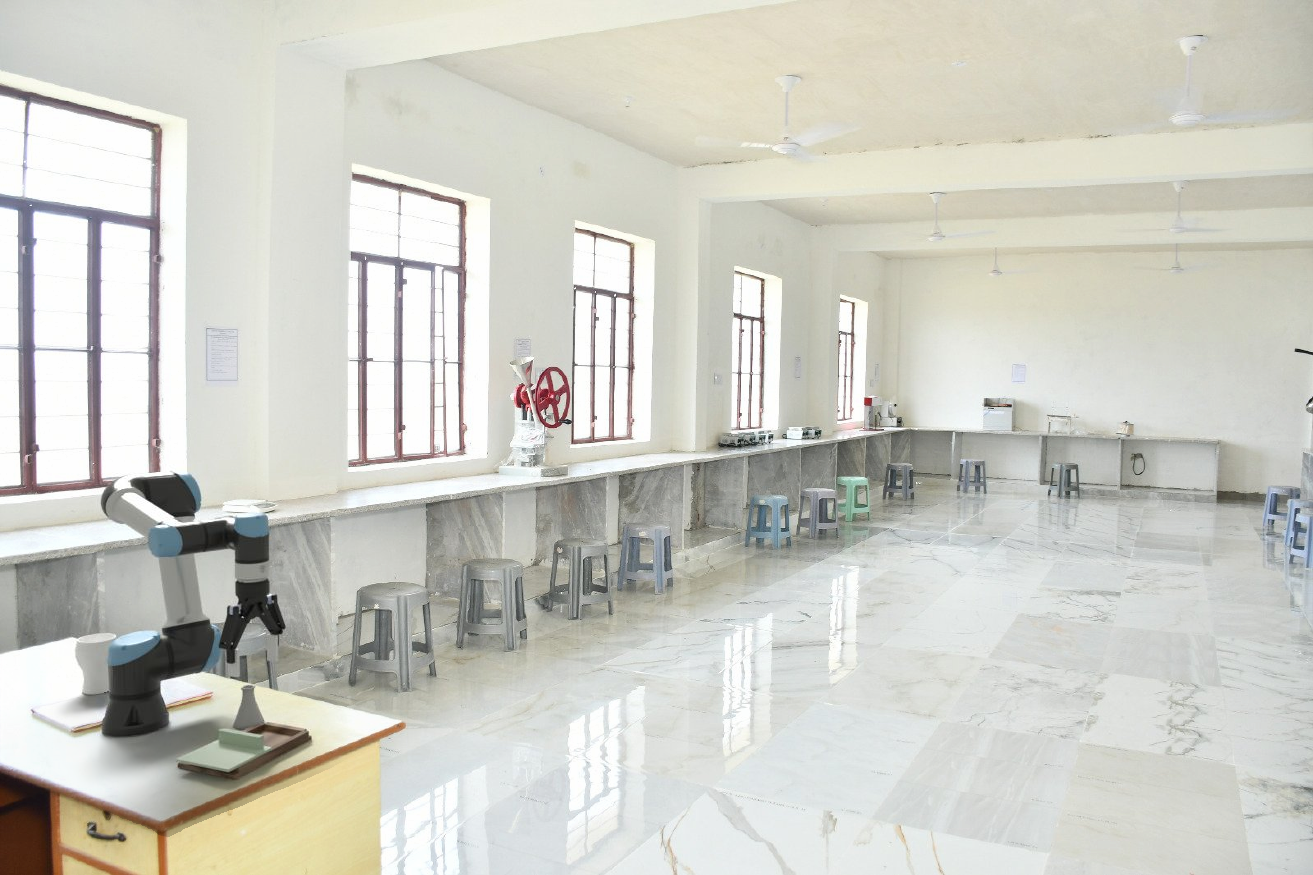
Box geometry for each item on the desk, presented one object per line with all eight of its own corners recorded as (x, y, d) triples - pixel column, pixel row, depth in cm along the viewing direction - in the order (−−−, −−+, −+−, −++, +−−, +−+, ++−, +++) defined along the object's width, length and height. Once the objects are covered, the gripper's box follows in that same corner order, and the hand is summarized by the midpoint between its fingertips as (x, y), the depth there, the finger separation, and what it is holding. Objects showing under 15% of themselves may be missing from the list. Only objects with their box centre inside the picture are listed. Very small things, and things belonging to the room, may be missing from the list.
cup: (127, 688, 277) (126, 636, 276) (89, 699, 268) (87, 645, 267) (107, 681, 282) (105, 630, 281) (68, 691, 274) (67, 639, 272)
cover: (176, 761, 222) (176, 746, 222) (221, 740, 235) (221, 725, 234) (228, 772, 217) (228, 756, 217) (271, 749, 229) (271, 734, 229)
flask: (252, 731, 247) (252, 692, 247) (227, 728, 249) (226, 689, 248) (269, 721, 255) (269, 683, 254) (244, 718, 256) (244, 681, 255)
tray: (177, 767, 225) (177, 756, 225) (256, 729, 248) (256, 720, 248) (236, 779, 219) (235, 768, 219) (311, 739, 242) (311, 729, 242)
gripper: (226, 591, 219) (227, 685, 221) (300, 570, 241) (301, 656, 243) (200, 588, 221) (201, 681, 223) (275, 567, 244) (277, 652, 246)
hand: (253, 668), depth 233 cm, fingers open, 12 cm apart
